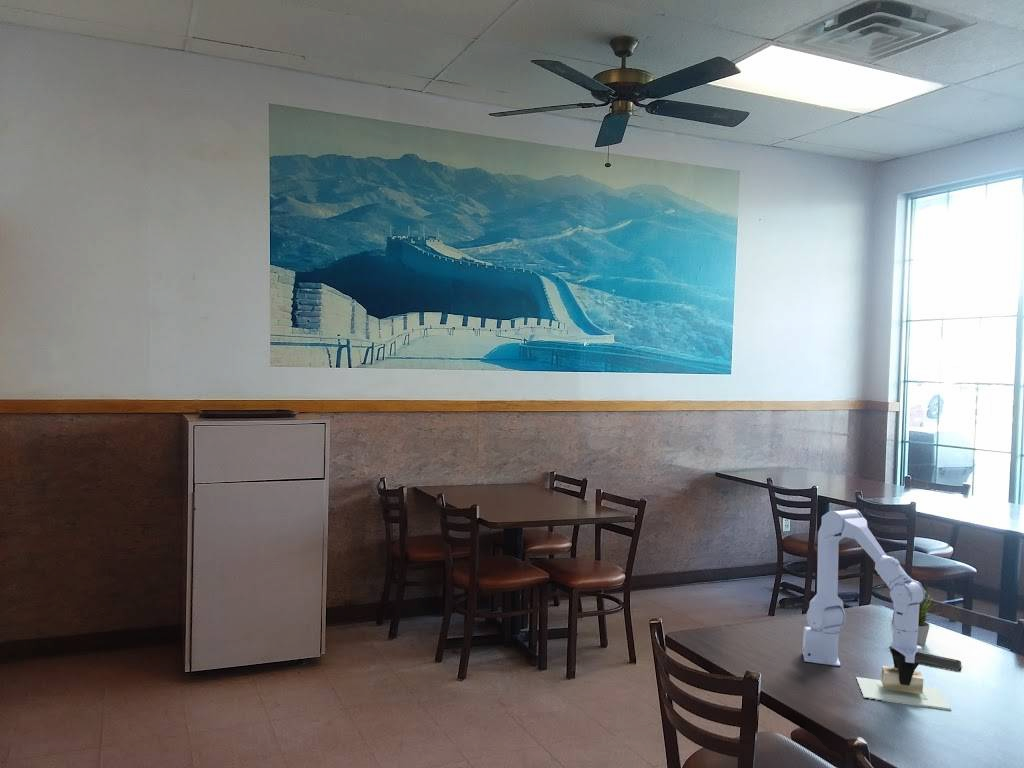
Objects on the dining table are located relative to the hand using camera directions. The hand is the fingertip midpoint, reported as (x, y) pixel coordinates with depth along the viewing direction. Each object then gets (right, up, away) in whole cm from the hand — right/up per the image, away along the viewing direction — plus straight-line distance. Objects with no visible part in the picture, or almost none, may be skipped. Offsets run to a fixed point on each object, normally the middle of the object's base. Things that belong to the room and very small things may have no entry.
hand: (902, 680), depth 207 cm
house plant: (+23, -3, +40) cm, 47 cm away
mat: (0, -4, 0) cm, 4 cm away
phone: (+20, -4, +24) cm, 31 cm away
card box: (0, -2, 0) cm, 2 cm away
